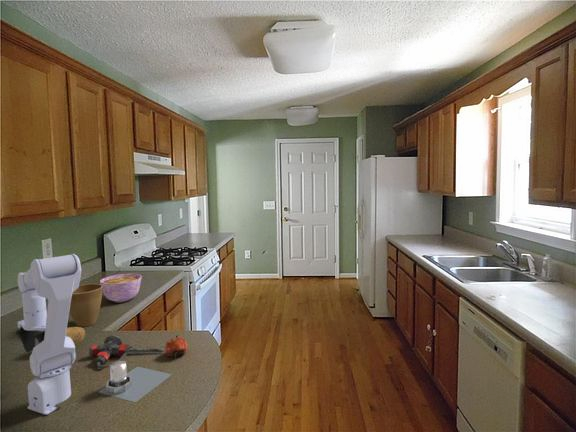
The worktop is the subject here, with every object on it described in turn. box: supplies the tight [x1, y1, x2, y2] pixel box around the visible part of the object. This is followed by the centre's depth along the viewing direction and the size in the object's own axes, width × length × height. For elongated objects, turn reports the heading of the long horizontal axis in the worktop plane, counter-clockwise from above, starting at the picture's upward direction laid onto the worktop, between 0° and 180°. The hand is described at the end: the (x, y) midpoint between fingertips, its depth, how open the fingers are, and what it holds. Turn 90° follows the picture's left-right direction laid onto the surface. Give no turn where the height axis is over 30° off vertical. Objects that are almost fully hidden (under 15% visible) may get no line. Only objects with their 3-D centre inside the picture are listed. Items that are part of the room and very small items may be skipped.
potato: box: [66, 326, 86, 346], centre depth 130 cm, size 10×14×8 cm
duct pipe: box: [109, 360, 128, 387], centre depth 104 cm, size 5×4×7 cm
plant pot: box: [69, 283, 103, 328], centre depth 154 cm, size 15×15×16 cm
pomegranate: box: [164, 335, 188, 360], centre depth 123 cm, size 7×7×10 cm
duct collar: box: [105, 375, 132, 395], centre depth 104 cm, size 7×7×2 cm
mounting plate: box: [98, 366, 172, 403], centre depth 106 cm, size 15×14×1 cm
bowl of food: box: [99, 273, 143, 303], centre depth 185 cm, size 20×20×12 cm
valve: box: [88, 334, 165, 370], centre depth 122 cm, size 6×26×15 cm
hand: (38, 352), depth 108 cm, fingers open, 7 cm apart
